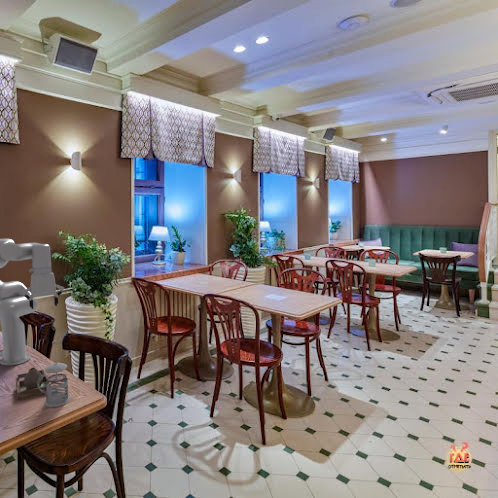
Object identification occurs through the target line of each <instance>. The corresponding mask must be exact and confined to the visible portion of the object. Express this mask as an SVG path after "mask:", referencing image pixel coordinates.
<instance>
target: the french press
mask: <svg viewBox="0 0 498 498" xmlns="http://www.w3.org/2000/svg"><path fill="white" fill-rule="evenodd" d="M51 344H52V345H57V344H58V341H57V340H53V341H52V343H51ZM56 353H57V352H54V357H55V358H54V360H55V363H52V364H49V365H48V366H46V367H45V368H44V376H45V377H46V378H47V375H48V374H52V375H48V378H47V382H46V391H45V392H43V391H44V390H41V389H40V388H39V384H38V382H37V385H38V388H39V390H40V391H41V392H43V393H46V394H45V399H46V400H45V401H44V402H43V405H44V406H45V407H48V408H57V407H60V406H63V405H66V404H68V403H69V402H70V401H71V400H72V396H71V395H70V394H69V381H68V380H69V379H68V375H67V374H66V373H60V372H64V371H65V370H67V368H68V365H67V364H66V363H63V362H57V358H56V357H57V356H56V355H57V354H56ZM46 373H47V374H46ZM41 376H43V374H42V375H41ZM41 376H40V377H41ZM44 376H43V377H44ZM40 377H39V379H40ZM43 377H42V378H43ZM42 378H41V379H42ZM39 379H38V381H39ZM41 379H40V380H41ZM39 383H40V381H39ZM49 383H50V384H49ZM48 384H49V385H48ZM55 384H56V385H55Z"/></svg>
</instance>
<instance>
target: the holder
mask: <svg viewBox="0 0 498 498" xmlns="http://www.w3.org/2000/svg"><path fill="white" fill-rule="evenodd" d="M46 375H47V378H48V377H49V375H48V374H46ZM42 377H43V375H42ZM47 378H46V377H45V376H44V377H43V382H42V385H41V386H40V387H39V388H40V389H41V390H44V391H43V392H45V391H46V382H47ZM50 383H51V382H50ZM50 383H49V384H50ZM49 384H48V385H49ZM16 386H17V387H16V389H17V390H16V393H17V401H20V400H24V399H28V398H33V397H37V396H42V395H46V393H43V392H41V391H40V390H39V388H34V389H30V390H27V389H26V388H25V386H24V379H23V380H21V379H20V380H19V381H18V380H17V381H16Z"/></svg>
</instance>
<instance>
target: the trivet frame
mask: <svg viewBox="0 0 498 498" xmlns="http://www.w3.org/2000/svg"><path fill="white" fill-rule="evenodd" d="M38 371H39V372H40V373H41V374H42V376H44V375H45V369H41V370H40V369H39V370H38ZM27 373H28V372H26V373H21V374H19V373H18V374H17V381H20V378H22V377H25V376H26V374H27Z"/></svg>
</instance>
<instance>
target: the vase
mask: <svg viewBox="0 0 498 498" xmlns="http://www.w3.org/2000/svg"><path fill="white" fill-rule="evenodd" d="M39 371H40V370H38V369H37V368H36V367H30V368H29V370H28V371H27V372H26V373H27V374H26V376H24V378H23V380H24V386H25V388H26V389H27V390H30V389H34V388H38V385H37V382H38V384H39V387H40V386H41V385H42V382H43V378H42V376H43V374H42V373H40V372H39ZM41 375H42V376H41ZM40 376H41V377H40ZM39 377H40V379H41V378H42V379H41V380H40V379H39ZM38 379H39V381H40V383H39V381H38Z"/></svg>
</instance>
